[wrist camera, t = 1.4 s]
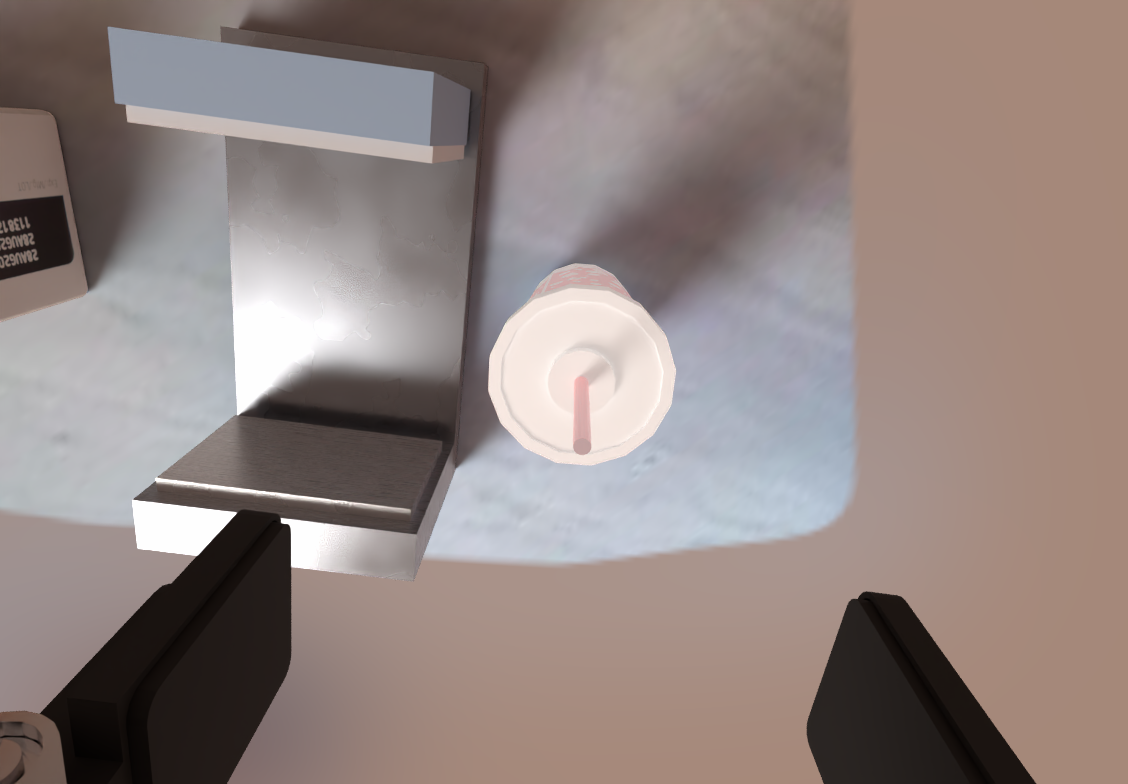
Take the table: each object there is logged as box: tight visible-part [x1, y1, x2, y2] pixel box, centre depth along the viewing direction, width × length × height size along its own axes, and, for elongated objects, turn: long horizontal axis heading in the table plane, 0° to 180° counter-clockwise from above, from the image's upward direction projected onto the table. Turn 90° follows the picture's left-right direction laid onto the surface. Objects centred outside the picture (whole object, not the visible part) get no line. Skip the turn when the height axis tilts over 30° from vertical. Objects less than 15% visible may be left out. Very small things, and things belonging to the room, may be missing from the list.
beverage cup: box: [488, 263, 676, 465], centre depth 24 cm, size 6×6×14 cm
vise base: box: [132, 27, 488, 581], centre depth 26 cm, size 18×10×9 cm, turn 173°
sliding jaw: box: [107, 26, 471, 163], centre depth 23 cm, size 2×9×7 cm, turn 83°
